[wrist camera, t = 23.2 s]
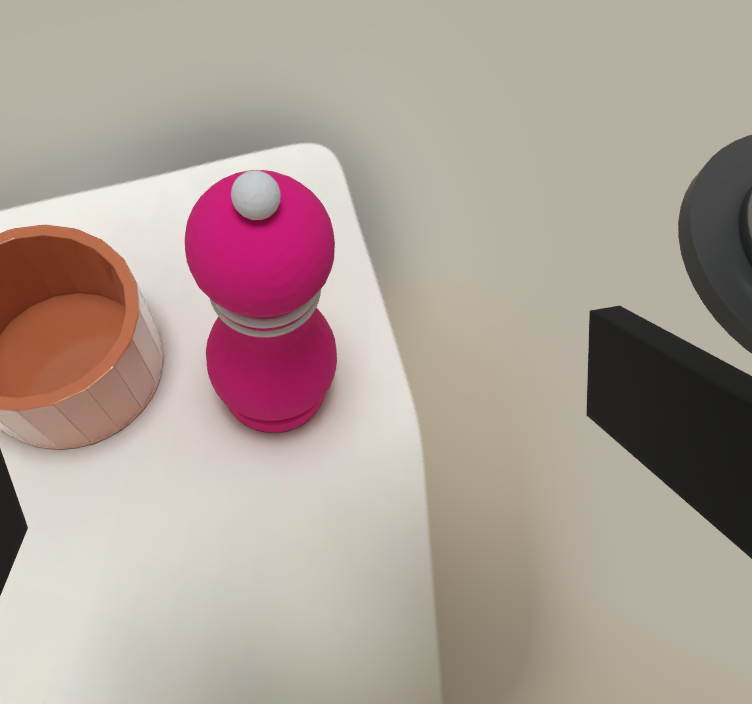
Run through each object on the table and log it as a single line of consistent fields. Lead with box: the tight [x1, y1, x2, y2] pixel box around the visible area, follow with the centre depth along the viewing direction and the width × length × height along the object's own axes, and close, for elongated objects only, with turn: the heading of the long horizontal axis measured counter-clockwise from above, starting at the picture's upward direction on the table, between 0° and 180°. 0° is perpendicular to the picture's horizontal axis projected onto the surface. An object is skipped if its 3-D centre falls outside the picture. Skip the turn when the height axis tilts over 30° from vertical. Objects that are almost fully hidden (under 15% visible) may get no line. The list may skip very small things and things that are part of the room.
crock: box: [0, 225, 163, 449], centre depth 38 cm, size 11×11×7 cm
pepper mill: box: [185, 170, 337, 433], centre depth 33 cm, size 7×7×20 cm
